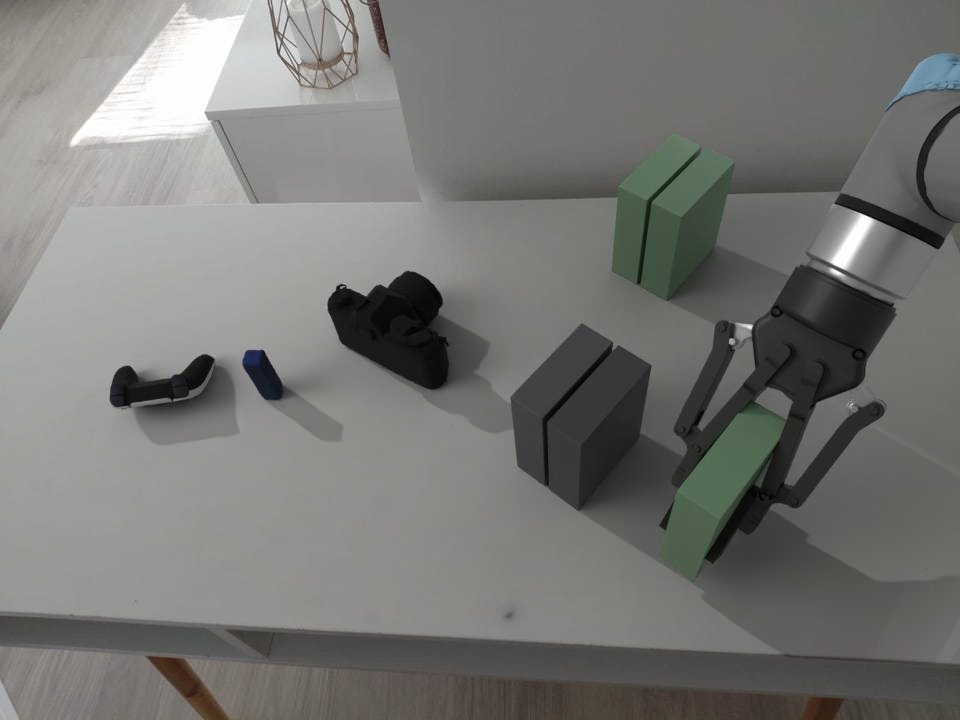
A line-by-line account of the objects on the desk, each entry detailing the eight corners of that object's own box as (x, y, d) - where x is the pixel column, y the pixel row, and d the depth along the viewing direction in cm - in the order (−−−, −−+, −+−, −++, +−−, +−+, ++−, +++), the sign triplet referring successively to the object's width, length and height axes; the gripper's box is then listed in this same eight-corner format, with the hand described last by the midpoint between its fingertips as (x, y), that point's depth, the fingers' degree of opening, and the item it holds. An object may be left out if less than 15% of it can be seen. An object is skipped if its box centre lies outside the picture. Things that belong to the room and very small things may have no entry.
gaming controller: (130, 403, 86) (101, 419, 79) (120, 365, 85) (90, 378, 78) (223, 388, 86) (202, 404, 79) (215, 350, 85) (193, 362, 78)
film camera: (485, 337, 84) (478, 284, 77) (434, 400, 80) (422, 351, 73) (380, 284, 90) (364, 231, 82) (327, 341, 86) (305, 290, 78)
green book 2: (714, 247, 88) (735, 161, 78) (666, 300, 85) (681, 217, 74) (688, 234, 90) (706, 147, 79) (640, 286, 86) (651, 202, 76)
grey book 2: (639, 438, 75) (652, 365, 65) (577, 511, 72) (580, 445, 61) (610, 419, 77) (618, 344, 66) (548, 489, 73) (546, 422, 62)
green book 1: (685, 233, 90) (701, 146, 80) (636, 284, 86) (647, 200, 76) (660, 220, 92) (673, 133, 81) (611, 270, 88) (618, 186, 77)
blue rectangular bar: (281, 400, 82) (260, 365, 76) (261, 400, 82) (239, 364, 76) (285, 384, 83) (265, 347, 77) (266, 384, 83) (244, 347, 78)
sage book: (755, 496, 67) (791, 422, 57) (693, 581, 64) (720, 519, 53) (721, 474, 69) (749, 398, 58) (658, 556, 65) (677, 490, 54)
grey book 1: (606, 416, 77) (613, 341, 66) (544, 486, 73) (542, 419, 63) (578, 398, 79) (581, 322, 68) (517, 466, 75) (509, 396, 64)
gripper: (968, 337, 54) (793, 591, 61) (756, 236, 61) (622, 473, 68) (970, 340, 47) (774, 623, 55) (733, 227, 55) (588, 490, 62)
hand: (690, 539), depth 61 cm, fingers closed on sage book, 3 cm apart
